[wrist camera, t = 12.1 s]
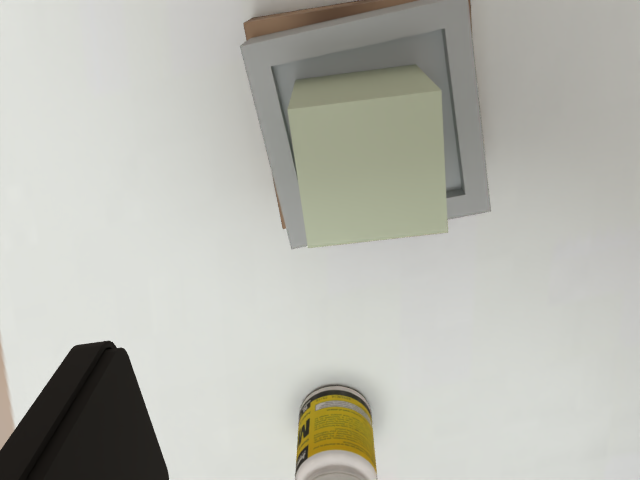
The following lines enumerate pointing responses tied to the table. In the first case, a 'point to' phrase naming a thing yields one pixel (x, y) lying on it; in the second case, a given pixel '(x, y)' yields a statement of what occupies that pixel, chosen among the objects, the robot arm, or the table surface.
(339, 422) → the supplement bottle
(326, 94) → the sage block
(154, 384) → the table surface
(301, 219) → the grey block
